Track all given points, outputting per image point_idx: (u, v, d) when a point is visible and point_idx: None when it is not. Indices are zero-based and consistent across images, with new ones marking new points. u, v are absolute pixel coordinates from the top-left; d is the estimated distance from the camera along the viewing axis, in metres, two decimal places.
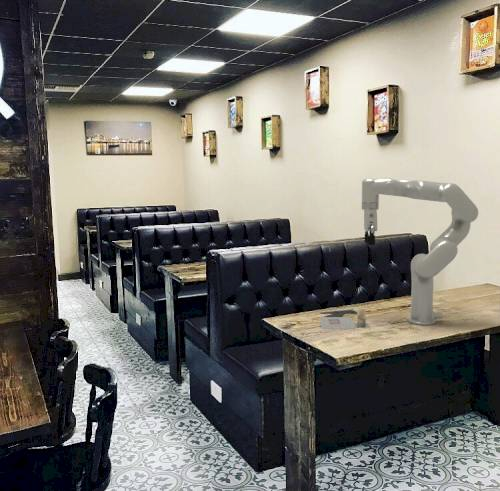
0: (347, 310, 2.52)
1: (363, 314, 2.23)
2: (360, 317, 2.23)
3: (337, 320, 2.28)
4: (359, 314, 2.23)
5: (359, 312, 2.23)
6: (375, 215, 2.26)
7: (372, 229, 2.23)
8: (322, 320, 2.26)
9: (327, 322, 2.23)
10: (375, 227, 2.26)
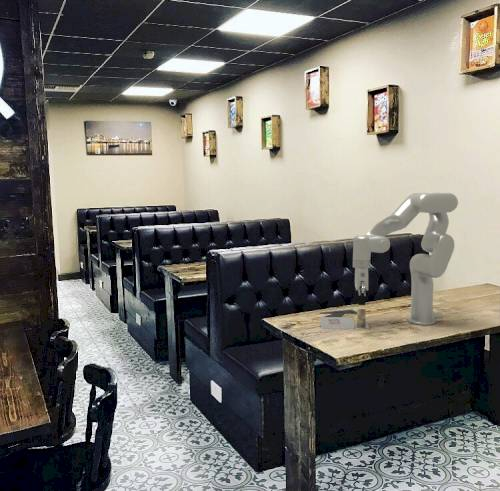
0: (347, 310, 2.53)
1: (363, 314, 2.23)
2: (360, 317, 2.23)
3: (337, 320, 2.28)
4: (359, 314, 2.23)
5: (359, 312, 2.23)
6: (366, 274, 2.17)
7: (363, 289, 2.14)
8: (322, 320, 2.26)
9: (327, 322, 2.23)
10: (366, 287, 2.17)
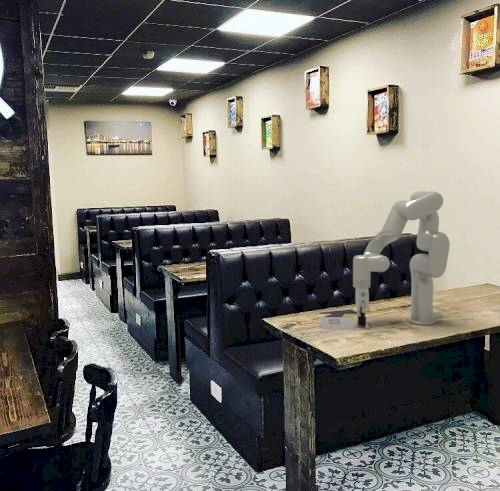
0: (346, 310, 2.53)
1: None
2: None
3: (337, 320, 2.28)
4: None
5: None
6: (367, 294, 2.18)
7: (363, 313, 2.18)
8: (322, 320, 2.26)
9: (327, 322, 2.23)
10: (367, 306, 2.19)
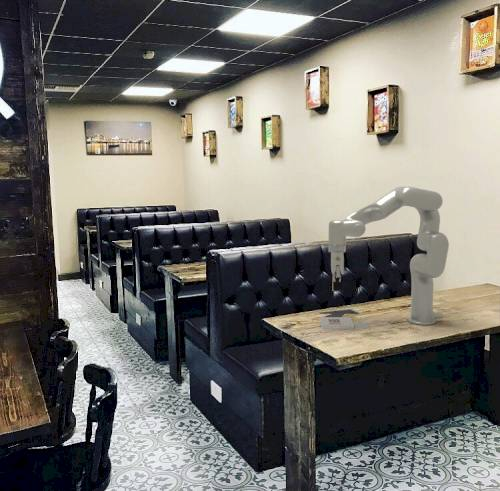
0: (346, 310, 2.53)
1: None
2: None
3: (337, 320, 2.28)
4: None
5: None
6: (341, 258, 2.17)
7: (337, 277, 2.17)
8: (322, 320, 2.26)
9: (327, 322, 2.23)
10: (341, 271, 2.18)
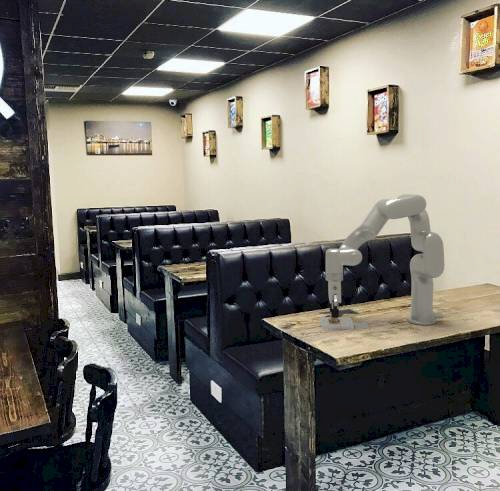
0: (345, 309, 2.53)
1: None
2: (333, 320, 2.24)
3: None
4: None
5: None
6: (339, 287, 2.19)
7: (335, 303, 2.16)
8: (322, 320, 2.26)
9: (327, 322, 2.23)
10: (339, 299, 2.19)
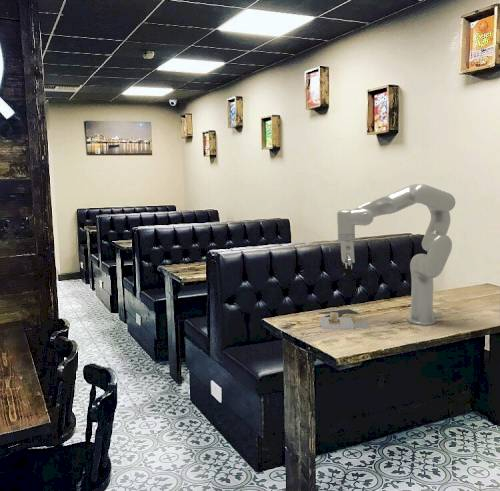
0: (344, 309, 2.54)
1: (335, 317, 2.24)
2: (333, 320, 2.24)
3: None
4: (332, 317, 2.24)
5: (332, 315, 2.24)
6: (352, 247, 2.22)
7: (349, 262, 2.19)
8: (322, 320, 2.26)
9: (327, 322, 2.23)
10: (352, 259, 2.22)
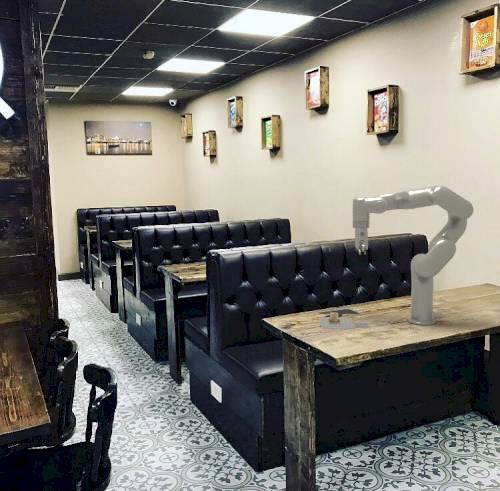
0: (344, 309, 2.54)
1: (335, 317, 2.24)
2: (332, 320, 2.24)
3: None
4: (332, 317, 2.24)
5: (331, 315, 2.24)
6: (366, 234, 2.27)
7: (363, 248, 2.25)
8: (322, 320, 2.26)
9: (327, 322, 2.23)
10: (366, 246, 2.28)
